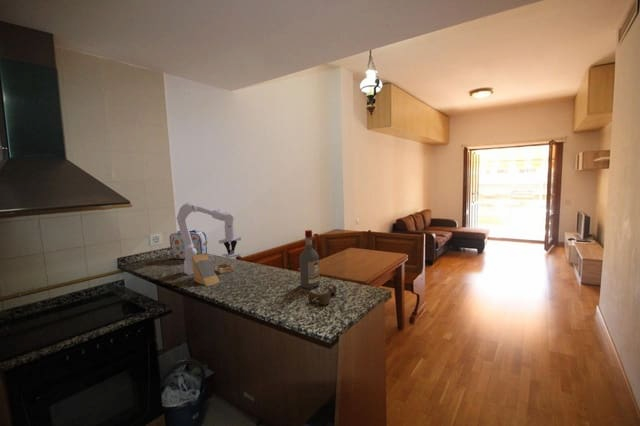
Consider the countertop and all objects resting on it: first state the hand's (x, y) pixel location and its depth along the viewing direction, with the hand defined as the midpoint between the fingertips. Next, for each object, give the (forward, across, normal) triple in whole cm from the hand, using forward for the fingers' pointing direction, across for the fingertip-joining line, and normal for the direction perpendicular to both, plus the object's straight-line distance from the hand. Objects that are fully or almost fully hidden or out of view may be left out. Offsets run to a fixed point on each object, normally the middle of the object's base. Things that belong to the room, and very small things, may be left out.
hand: (230, 252), depth 202 cm
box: (+10, -6, -2) cm, 12 cm away
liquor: (+11, +16, -62) cm, 64 cm away
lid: (+2, 0, 0) cm, 2 cm away
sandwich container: (+11, -22, -13) cm, 28 cm away
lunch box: (+11, -10, +47) cm, 50 cm away
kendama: (+11, +7, -81) cm, 82 cm away
